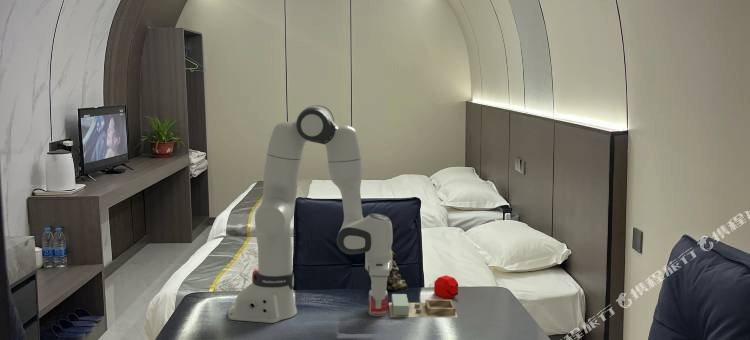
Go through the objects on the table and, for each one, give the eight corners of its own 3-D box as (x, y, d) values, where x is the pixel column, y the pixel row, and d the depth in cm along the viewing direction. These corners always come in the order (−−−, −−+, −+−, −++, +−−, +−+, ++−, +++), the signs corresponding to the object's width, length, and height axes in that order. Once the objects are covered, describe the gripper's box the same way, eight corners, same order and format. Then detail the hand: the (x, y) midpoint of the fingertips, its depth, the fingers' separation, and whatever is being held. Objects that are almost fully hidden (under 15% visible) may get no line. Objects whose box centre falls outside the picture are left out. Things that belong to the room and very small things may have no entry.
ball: (446, 303, 236) (447, 282, 235) (430, 297, 242) (430, 277, 241) (461, 298, 242) (462, 278, 241) (445, 293, 248) (445, 273, 247)
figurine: (373, 293, 247) (373, 253, 245) (379, 284, 257) (380, 246, 255) (404, 295, 244) (405, 255, 242) (410, 287, 254) (410, 248, 252)
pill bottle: (390, 317, 222) (391, 284, 220) (375, 320, 218) (375, 287, 217) (380, 311, 227) (380, 279, 225) (364, 314, 224) (365, 282, 222)
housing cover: (393, 315, 220) (393, 305, 219) (391, 303, 231) (391, 294, 231) (408, 315, 220) (408, 305, 219) (406, 303, 232) (406, 294, 231)
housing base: (390, 320, 219) (390, 310, 218) (388, 305, 233) (388, 297, 232) (457, 320, 219) (458, 311, 219) (452, 306, 233) (452, 297, 233)
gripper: (368, 254, 230) (368, 293, 232) (369, 272, 210) (368, 314, 212) (387, 255, 231) (386, 294, 232) (389, 272, 210) (388, 314, 212)
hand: (377, 304), depth 222 cm, fingers closed on pill bottle, 6 cm apart
